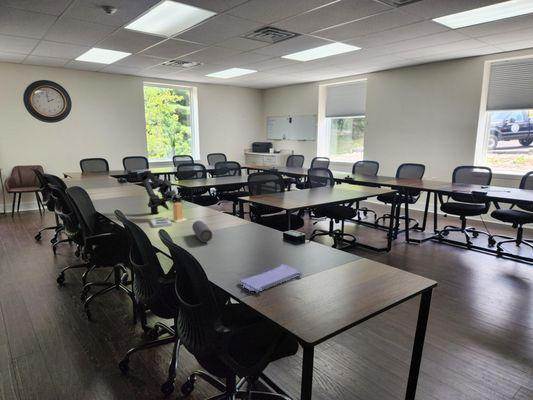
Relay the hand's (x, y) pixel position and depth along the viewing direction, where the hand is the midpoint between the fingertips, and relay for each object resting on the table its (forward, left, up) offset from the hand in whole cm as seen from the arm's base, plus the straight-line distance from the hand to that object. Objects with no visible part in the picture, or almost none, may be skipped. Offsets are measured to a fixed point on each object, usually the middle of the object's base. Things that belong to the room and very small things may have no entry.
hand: (173, 208), depth 265 cm
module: (+3, +5, -8) cm, 10 cm away
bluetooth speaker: (+48, +35, -9) cm, 60 cm away
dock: (+15, -5, -9) cm, 18 cm away
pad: (+3, +5, -9) cm, 10 cm away
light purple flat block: (+109, +82, -9) cm, 136 cm away
